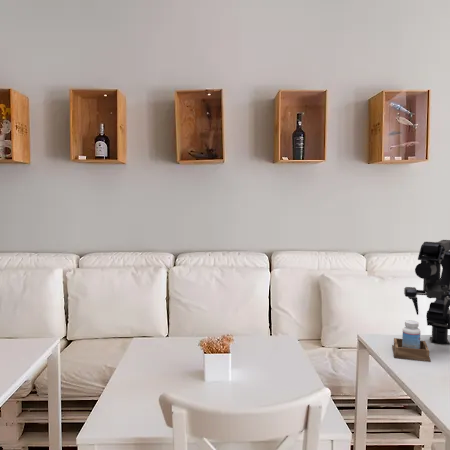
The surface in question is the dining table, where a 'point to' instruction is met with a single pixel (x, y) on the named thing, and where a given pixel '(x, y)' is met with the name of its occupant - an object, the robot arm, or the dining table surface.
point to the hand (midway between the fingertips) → (430, 315)
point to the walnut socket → (411, 351)
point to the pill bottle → (411, 335)
